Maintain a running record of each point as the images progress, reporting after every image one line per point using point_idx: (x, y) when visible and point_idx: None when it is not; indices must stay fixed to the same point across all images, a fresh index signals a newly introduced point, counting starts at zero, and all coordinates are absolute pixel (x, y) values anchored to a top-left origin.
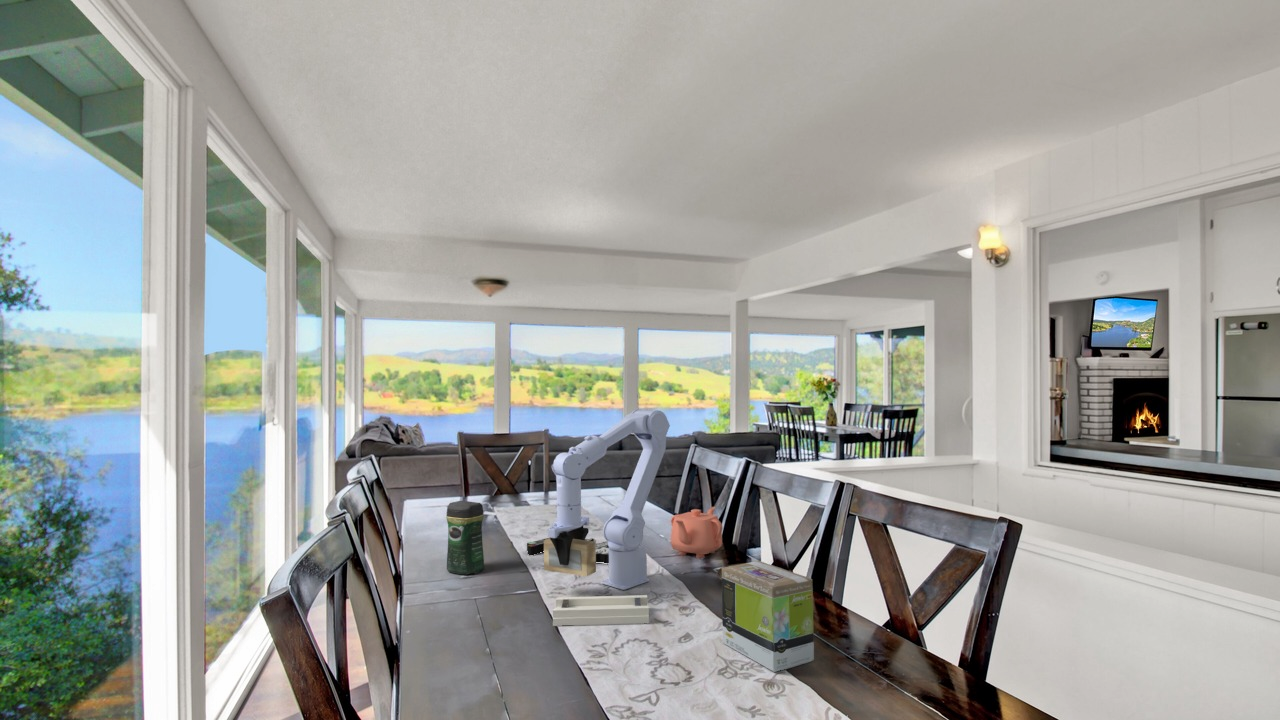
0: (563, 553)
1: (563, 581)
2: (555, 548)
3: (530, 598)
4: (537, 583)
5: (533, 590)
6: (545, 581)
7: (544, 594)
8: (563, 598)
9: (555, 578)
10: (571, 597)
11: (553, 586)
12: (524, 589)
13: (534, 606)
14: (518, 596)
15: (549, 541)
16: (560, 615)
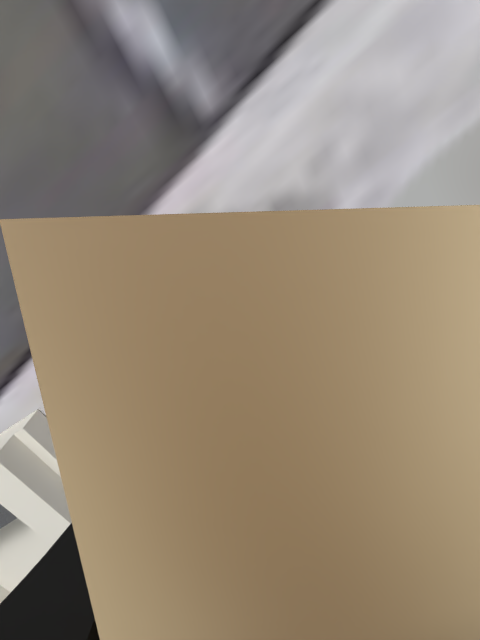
0: None
1: (401, 168)
2: (3, 605)
3: (82, 179)
4: (317, 30)
5: (199, 98)
6: (367, 58)
7: (178, 210)
8: (7, 493)
9: (434, 84)
10: (47, 511)
11: (309, 169)
12: (185, 22)
13: (4, 284)
14: (63, 79)
15: (60, 454)
16: None
